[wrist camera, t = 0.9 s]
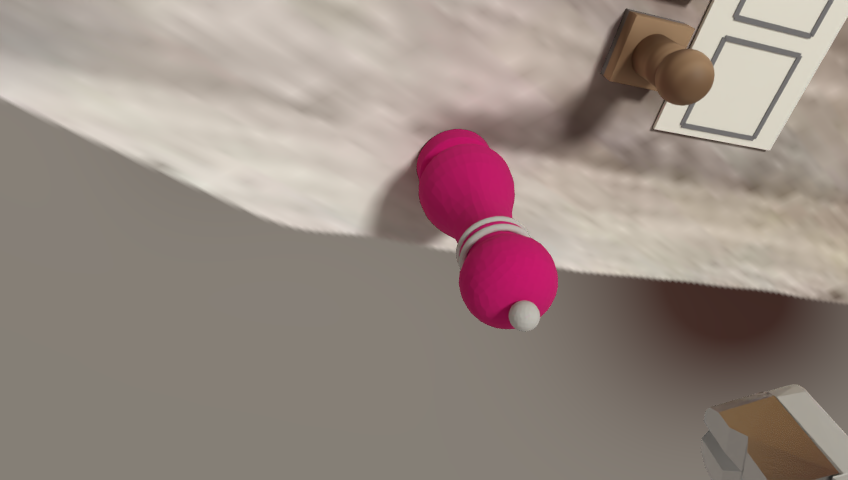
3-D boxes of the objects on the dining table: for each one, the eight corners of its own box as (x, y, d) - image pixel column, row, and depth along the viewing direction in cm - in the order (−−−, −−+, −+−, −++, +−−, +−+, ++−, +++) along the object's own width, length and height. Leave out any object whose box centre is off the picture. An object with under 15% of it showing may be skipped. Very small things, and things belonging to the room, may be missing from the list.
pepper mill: (456, 216, 55) (526, 388, 38) (392, 172, 51) (439, 341, 35) (514, 154, 52) (615, 311, 36) (451, 104, 49) (531, 252, 33)
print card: (763, -110, 44) (766, -110, 44) (892, -68, 47) (897, -67, 47) (652, 127, 53) (654, 129, 53) (767, 149, 56) (770, 151, 56)
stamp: (626, 8, 47) (684, 42, 40) (682, 22, 48) (748, 58, 41) (600, 73, 50) (650, 115, 43) (654, 84, 51) (712, 127, 44)
